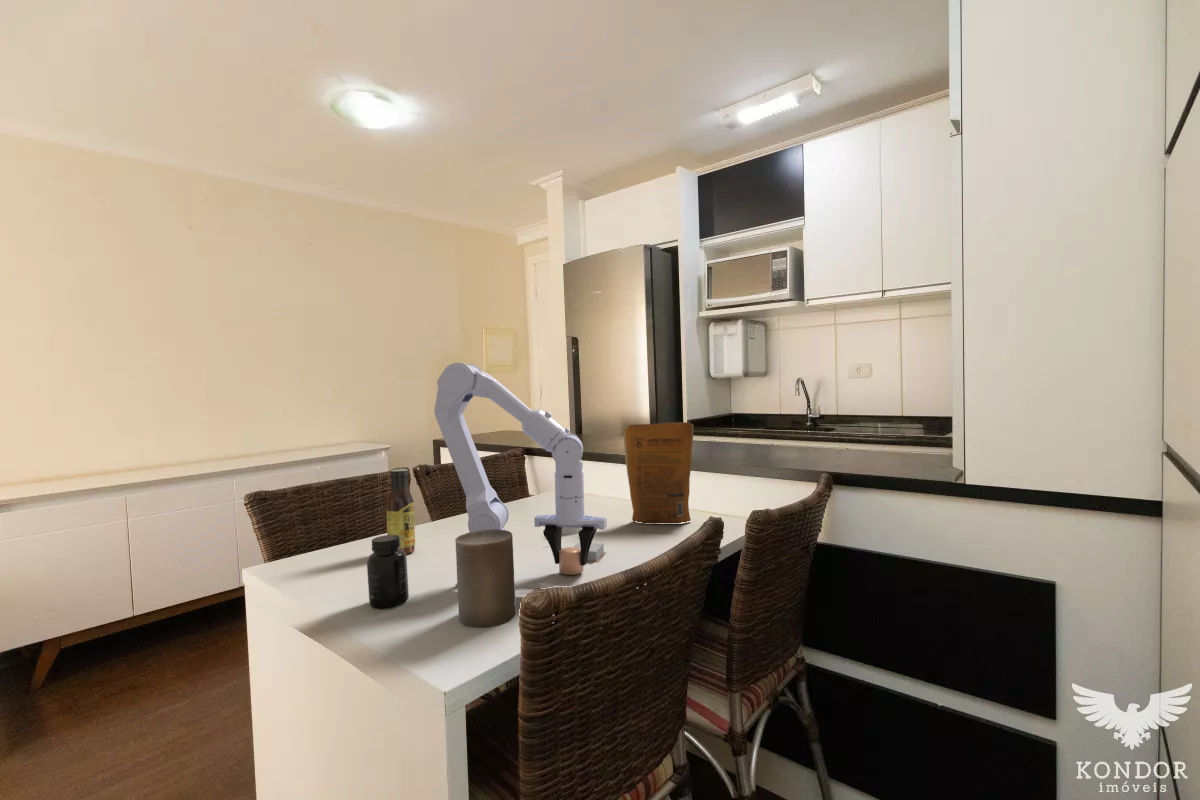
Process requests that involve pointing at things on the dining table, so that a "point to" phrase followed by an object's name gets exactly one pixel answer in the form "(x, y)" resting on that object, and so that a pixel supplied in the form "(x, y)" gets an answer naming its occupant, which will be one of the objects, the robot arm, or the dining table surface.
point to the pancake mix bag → (659, 470)
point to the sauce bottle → (401, 511)
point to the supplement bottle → (387, 573)
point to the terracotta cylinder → (570, 560)
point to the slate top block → (594, 551)
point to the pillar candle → (485, 577)
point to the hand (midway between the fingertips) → (571, 563)
